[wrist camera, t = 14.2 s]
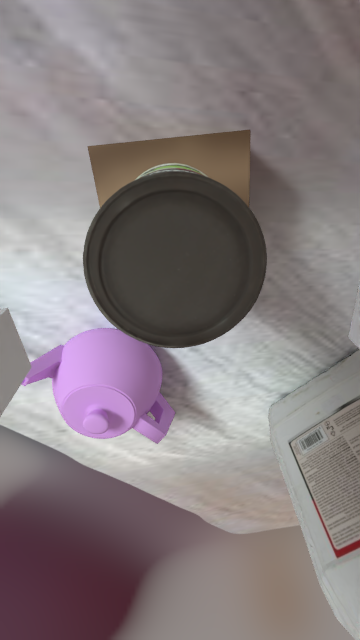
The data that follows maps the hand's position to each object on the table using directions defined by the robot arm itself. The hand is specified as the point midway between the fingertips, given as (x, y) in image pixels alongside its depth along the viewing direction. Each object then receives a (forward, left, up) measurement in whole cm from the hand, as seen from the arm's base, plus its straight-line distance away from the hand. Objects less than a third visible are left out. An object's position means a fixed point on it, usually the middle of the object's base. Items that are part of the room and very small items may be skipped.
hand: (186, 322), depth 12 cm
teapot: (+22, -12, -29) cm, 38 cm away
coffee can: (0, 0, -20) cm, 20 cm away
